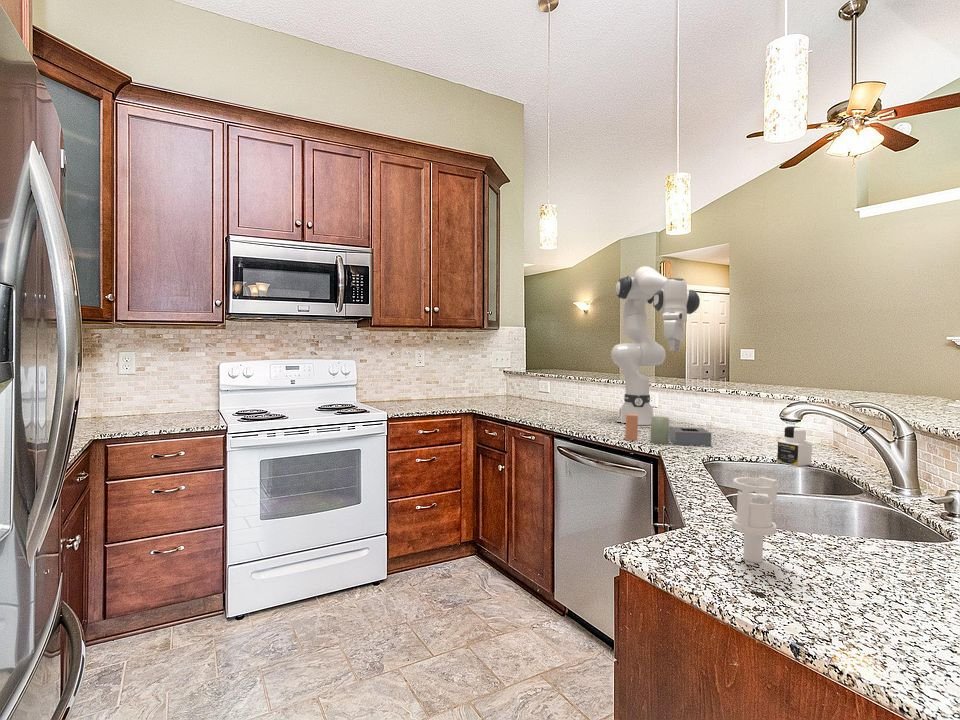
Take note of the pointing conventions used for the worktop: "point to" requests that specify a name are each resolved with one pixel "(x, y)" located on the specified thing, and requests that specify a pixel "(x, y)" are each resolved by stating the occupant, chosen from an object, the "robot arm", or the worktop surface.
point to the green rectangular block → (659, 430)
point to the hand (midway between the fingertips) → (674, 351)
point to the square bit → (631, 426)
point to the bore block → (689, 436)
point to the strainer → (755, 514)
